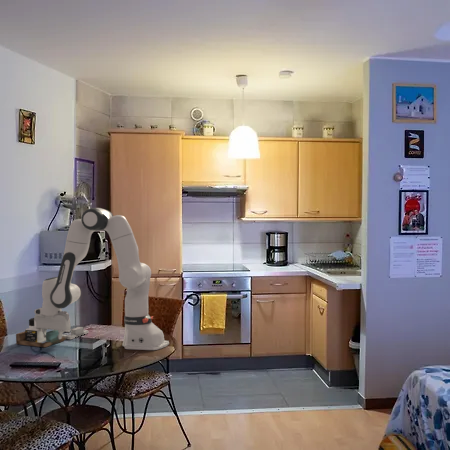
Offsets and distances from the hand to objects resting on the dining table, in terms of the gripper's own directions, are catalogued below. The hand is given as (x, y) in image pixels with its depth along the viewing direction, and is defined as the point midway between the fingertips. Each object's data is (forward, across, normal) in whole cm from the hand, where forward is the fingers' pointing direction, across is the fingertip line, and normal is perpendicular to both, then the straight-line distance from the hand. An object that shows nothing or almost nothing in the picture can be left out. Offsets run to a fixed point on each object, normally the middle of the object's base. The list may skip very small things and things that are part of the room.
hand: (52, 338), depth 232 cm
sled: (+3, +8, 0) cm, 8 cm away
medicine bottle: (+3, +11, 0) cm, 11 cm away
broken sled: (+3, +6, -16) cm, 17 cm away
